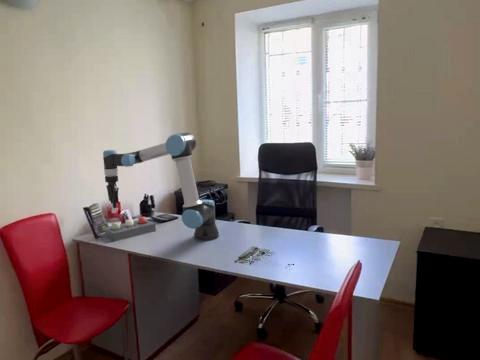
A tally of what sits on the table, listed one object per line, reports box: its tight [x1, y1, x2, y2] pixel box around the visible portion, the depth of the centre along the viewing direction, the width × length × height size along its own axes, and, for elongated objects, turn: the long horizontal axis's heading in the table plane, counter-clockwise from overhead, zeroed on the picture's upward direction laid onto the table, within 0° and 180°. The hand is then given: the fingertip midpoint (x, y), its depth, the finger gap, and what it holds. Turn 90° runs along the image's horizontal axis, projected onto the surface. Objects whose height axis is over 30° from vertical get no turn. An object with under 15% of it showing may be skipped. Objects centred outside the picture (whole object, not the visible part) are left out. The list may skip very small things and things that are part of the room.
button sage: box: [111, 222, 121, 231], centre depth 236 cm, size 5×5×4 cm
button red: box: [137, 216, 147, 225], centre depth 248 cm, size 5×5×4 cm
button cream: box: [124, 218, 134, 228], centre depth 242 cm, size 5×5×4 cm
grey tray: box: [103, 219, 157, 242], centre depth 242 cm, size 16×28×5 cm, turn 132°
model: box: [234, 245, 274, 264], centre depth 193 cm, size 21×30×2 cm
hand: (114, 212), depth 234 cm, fingers closed
